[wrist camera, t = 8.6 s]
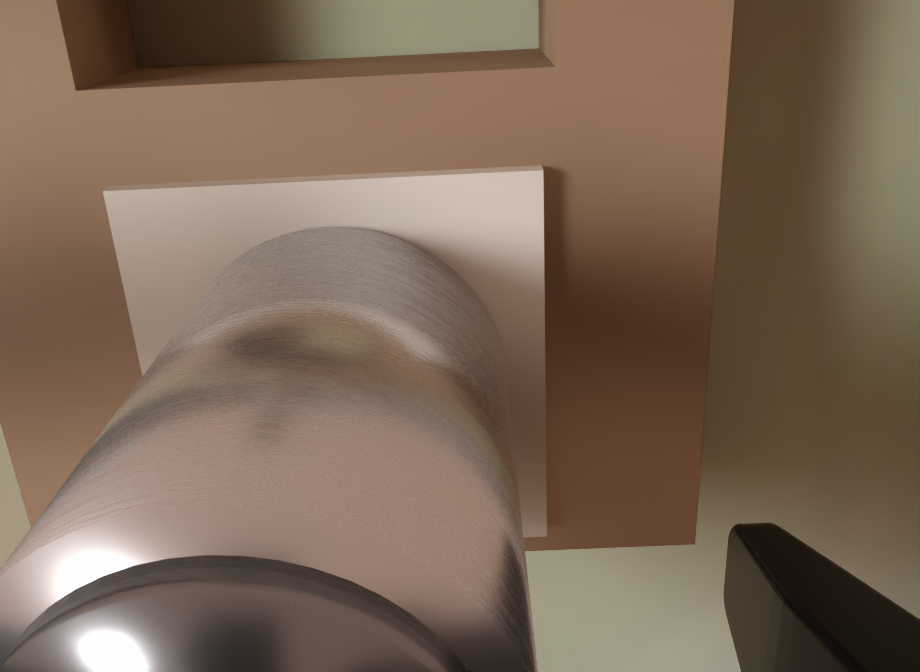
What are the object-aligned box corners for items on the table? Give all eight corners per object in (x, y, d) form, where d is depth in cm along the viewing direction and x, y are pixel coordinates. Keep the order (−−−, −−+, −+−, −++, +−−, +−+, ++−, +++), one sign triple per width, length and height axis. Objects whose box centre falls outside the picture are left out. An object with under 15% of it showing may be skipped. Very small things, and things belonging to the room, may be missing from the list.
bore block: (662, 464, 17) (699, 555, 14) (99, 488, 17) (36, 581, 15) (722, -673, 11) (807, -876, 8) (-179, -616, 11) (-378, -795, 8)
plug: (509, 509, 14) (551, 986, 8) (210, 519, 14) (3, 999, 8) (502, 219, 12) (550, 530, 6) (155, 233, 12) (-187, 558, 6)
